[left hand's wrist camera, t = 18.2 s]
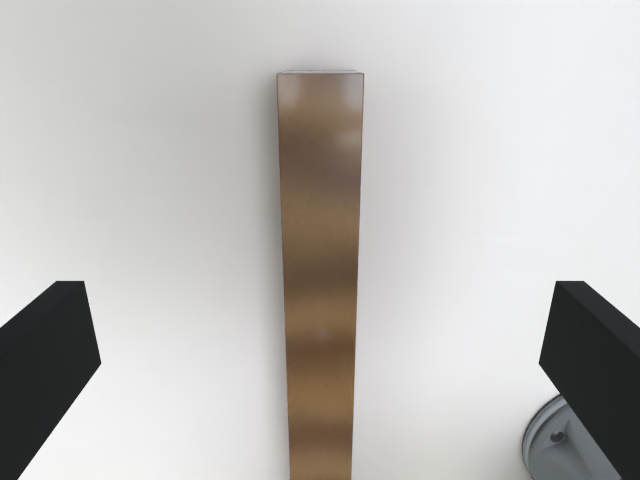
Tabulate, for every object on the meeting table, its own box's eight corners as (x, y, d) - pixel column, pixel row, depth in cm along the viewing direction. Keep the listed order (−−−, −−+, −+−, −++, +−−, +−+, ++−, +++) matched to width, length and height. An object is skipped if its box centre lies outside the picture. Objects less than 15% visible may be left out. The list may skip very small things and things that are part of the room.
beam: (285, 70, 34) (276, 73, 27) (354, 70, 34) (364, 73, 27) (299, 561, 55) (295, 640, 47) (342, 561, 55) (346, 640, 47)
